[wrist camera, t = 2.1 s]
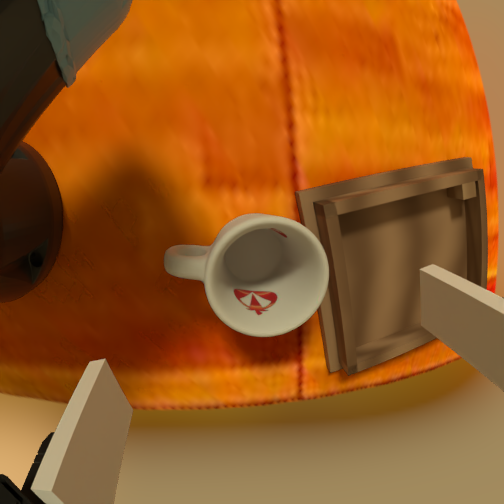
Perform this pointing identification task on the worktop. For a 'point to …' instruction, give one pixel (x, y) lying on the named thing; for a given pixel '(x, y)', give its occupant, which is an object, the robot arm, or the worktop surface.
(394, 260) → the square wooden tray
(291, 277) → the cup
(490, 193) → the worktop surface
